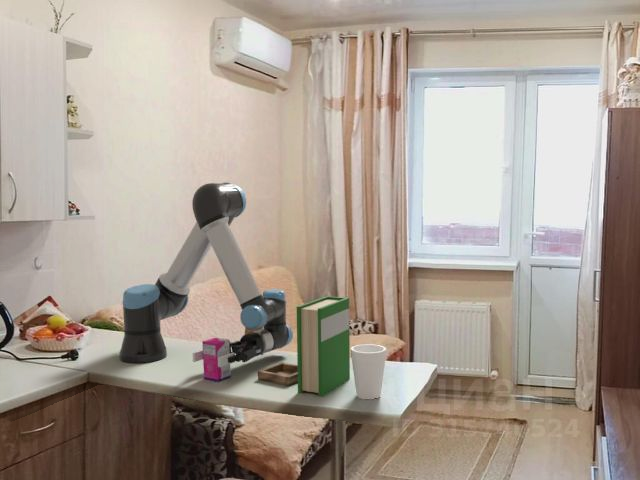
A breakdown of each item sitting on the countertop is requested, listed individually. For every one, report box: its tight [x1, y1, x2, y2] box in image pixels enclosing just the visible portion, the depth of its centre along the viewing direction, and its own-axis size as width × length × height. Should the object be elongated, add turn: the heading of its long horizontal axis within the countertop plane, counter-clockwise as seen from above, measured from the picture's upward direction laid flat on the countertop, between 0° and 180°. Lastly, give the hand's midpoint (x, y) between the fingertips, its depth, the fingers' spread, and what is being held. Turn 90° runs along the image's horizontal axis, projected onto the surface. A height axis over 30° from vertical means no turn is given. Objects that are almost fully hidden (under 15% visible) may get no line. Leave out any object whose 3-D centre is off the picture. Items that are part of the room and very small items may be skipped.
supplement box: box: [201, 337, 232, 383], centre depth 198 cm, size 6×6×12 cm
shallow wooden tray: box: [257, 361, 298, 387], centre depth 197 cm, size 11×11×2 cm
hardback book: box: [296, 295, 351, 398], centre depth 188 cm, size 18×7×24 cm, turn 152°
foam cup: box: [350, 343, 387, 400], centre depth 180 cm, size 10×9×13 cm
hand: (205, 359), depth 194 cm, fingers open, 9 cm apart
